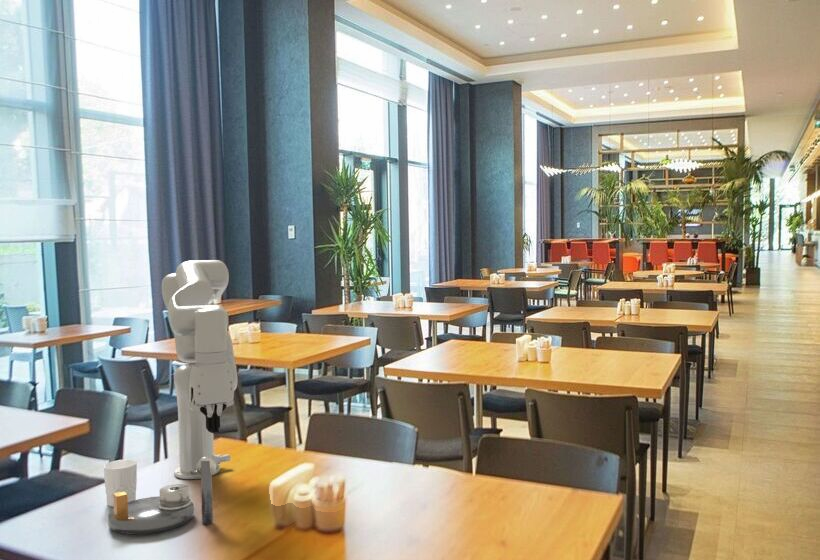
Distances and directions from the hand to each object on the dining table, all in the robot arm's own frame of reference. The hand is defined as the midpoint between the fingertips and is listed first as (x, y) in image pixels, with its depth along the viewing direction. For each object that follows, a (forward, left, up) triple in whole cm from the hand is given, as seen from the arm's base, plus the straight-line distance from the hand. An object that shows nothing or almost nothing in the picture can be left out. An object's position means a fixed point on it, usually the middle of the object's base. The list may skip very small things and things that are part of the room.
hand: (213, 431), depth 178 cm
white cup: (+17, -18, -19) cm, 32 cm away
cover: (+10, 0, -16) cm, 19 cm away
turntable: (+15, 0, -19) cm, 25 cm away
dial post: (+5, +9, -19) cm, 22 cm away
